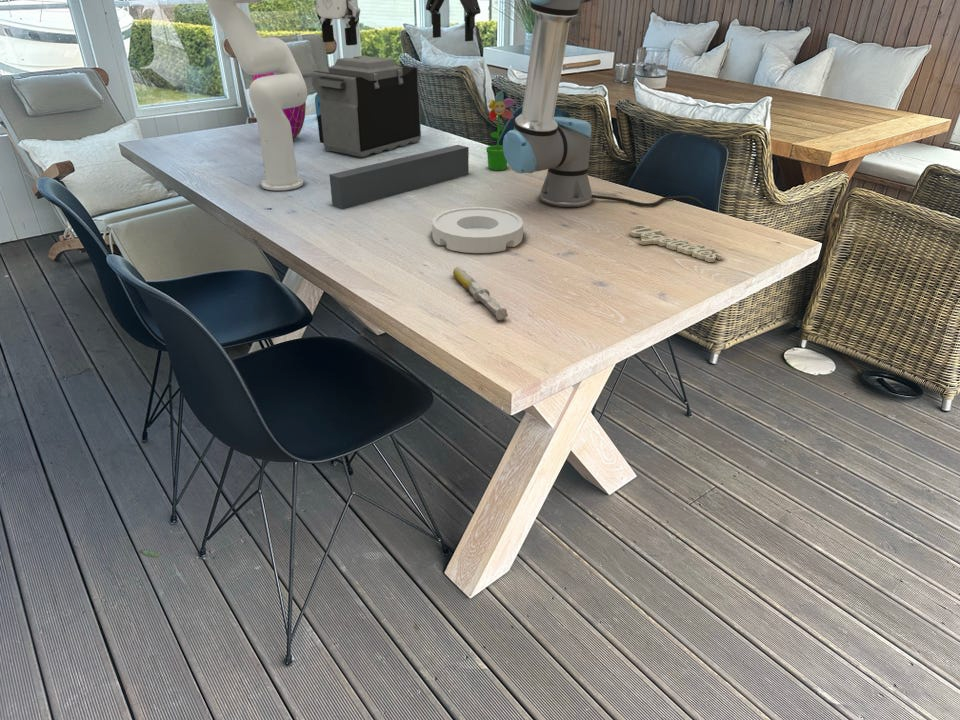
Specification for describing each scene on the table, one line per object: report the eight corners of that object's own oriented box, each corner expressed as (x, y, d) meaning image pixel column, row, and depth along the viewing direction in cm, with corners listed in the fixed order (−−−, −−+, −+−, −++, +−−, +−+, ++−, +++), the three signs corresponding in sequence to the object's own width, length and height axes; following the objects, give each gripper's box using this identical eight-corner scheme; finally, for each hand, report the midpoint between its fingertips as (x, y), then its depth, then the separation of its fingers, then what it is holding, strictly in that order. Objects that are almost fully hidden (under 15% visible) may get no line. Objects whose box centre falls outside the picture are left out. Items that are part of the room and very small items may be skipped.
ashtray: (436, 220, 186) (436, 206, 184) (521, 222, 186) (522, 207, 184) (428, 252, 166) (427, 236, 164) (523, 254, 166) (524, 238, 164)
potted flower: (491, 172, 228) (493, 92, 215) (480, 166, 234) (481, 88, 221) (516, 168, 232) (519, 90, 219) (504, 163, 238) (506, 86, 225)
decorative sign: (617, 232, 177) (640, 223, 183) (616, 235, 177) (640, 227, 183) (706, 262, 160) (729, 252, 166) (705, 266, 160) (728, 255, 166)
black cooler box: (383, 133, 276) (378, 52, 261) (425, 141, 265) (422, 56, 250) (314, 150, 251) (304, 61, 235) (358, 160, 240) (350, 67, 224)
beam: (458, 171, 229) (457, 144, 225) (468, 174, 226) (468, 147, 222) (332, 204, 197) (329, 174, 193) (342, 208, 194) (339, 177, 190)
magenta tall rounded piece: (293, 132, 276) (283, 50, 261) (319, 140, 264) (310, 56, 249) (249, 139, 265) (236, 54, 250) (273, 148, 253) (261, 60, 238)
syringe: (449, 274, 155) (449, 263, 153) (465, 272, 156) (464, 260, 154) (490, 323, 135) (491, 310, 133) (508, 319, 136) (508, 307, 134)
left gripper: (300, -34, 171) (308, 41, 180) (342, -33, 161) (348, 47, 170) (325, -34, 176) (331, 39, 185) (367, -33, 166) (372, 45, 175)
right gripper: (412, -45, 198) (415, 36, 209) (474, -44, 184) (474, 43, 194) (431, -44, 203) (432, 35, 214) (493, -44, 188) (492, 41, 199)
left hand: (339, 43), depth 177 cm, fingers open, 9 cm apart
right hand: (452, 39), depth 204 cm, fingers open, 13 cm apart
